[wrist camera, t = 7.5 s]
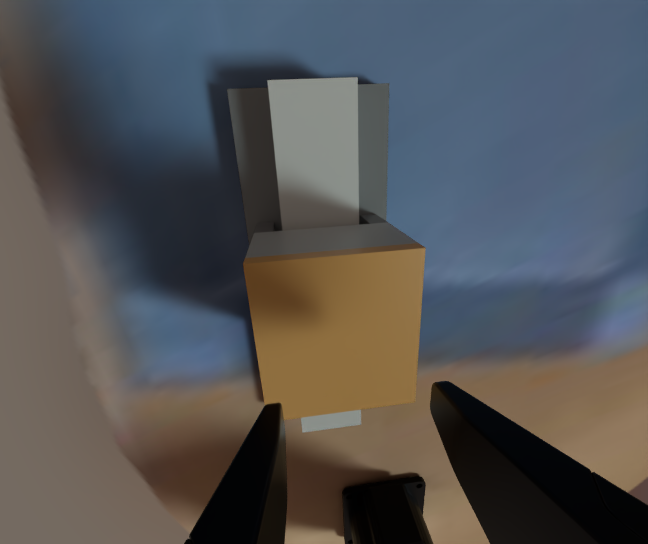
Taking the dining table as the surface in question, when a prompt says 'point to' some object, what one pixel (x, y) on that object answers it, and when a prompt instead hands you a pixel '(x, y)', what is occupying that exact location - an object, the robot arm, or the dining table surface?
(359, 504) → the robot arm
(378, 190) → the rail
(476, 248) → the dining table surface
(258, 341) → the block
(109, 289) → the dining table surface
